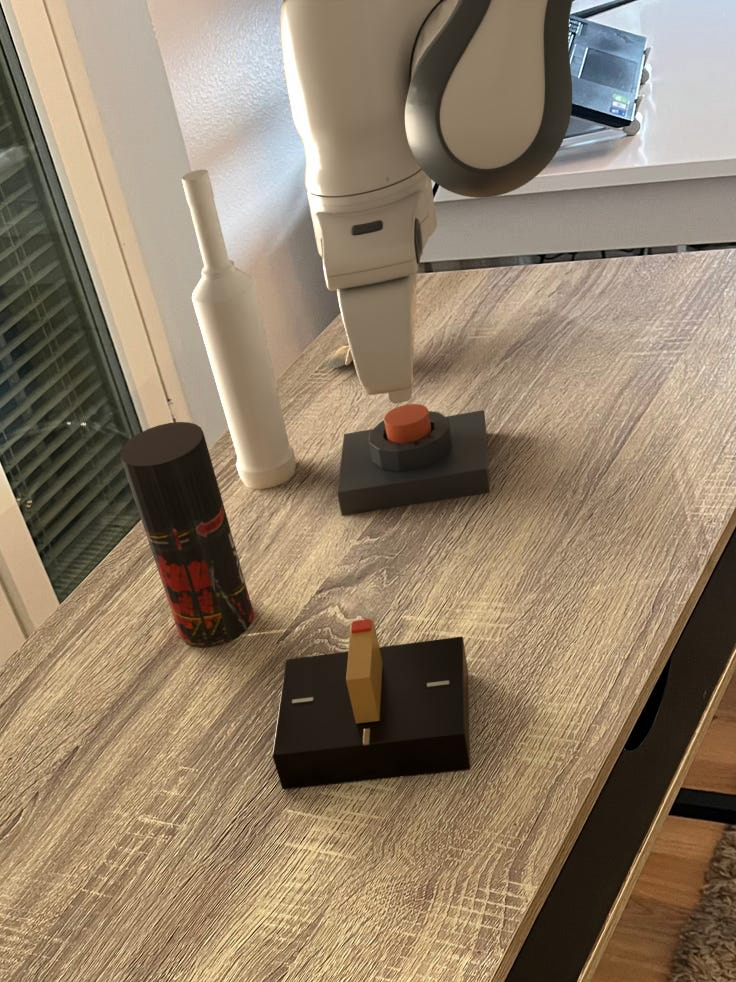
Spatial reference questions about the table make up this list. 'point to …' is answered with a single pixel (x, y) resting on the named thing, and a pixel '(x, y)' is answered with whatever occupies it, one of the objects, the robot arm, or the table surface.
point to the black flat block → (381, 744)
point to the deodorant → (188, 532)
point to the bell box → (414, 465)
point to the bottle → (238, 349)
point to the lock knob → (364, 671)
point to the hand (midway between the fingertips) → (401, 394)
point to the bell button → (407, 423)
